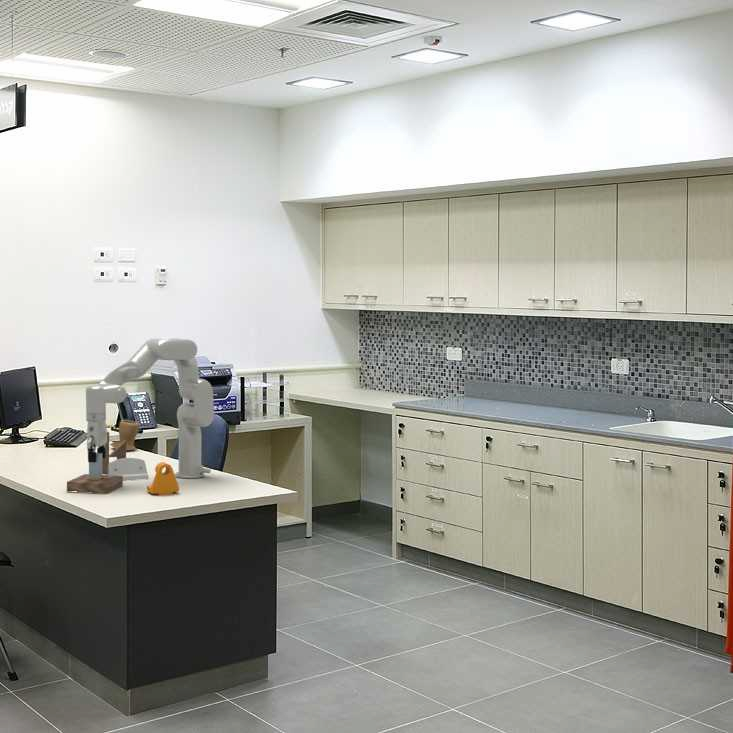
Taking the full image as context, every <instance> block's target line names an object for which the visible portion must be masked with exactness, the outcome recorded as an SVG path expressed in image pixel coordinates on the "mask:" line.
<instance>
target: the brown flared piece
mask: <svg viewBox="0 0 733 733" xmlns="http://www.w3.org/2000/svg"><path fill="white" fill-rule="evenodd" d="M139 429H140V423H139V422H137V421H136V420H135V421H134V420H129V419H122V420H120V421H119V426H118V435H119V441H114V442H111V443H109V446H111V447H113V448H114V449H116V448H117V447H118V446H119V445H120V444H121V443H122V442H123V441H124V440H126V452H127V451H128V452H129V451H130V452H131V451H134V450H136V449H137V448H136V446H135V439H136V438H137V435H138V433H139V431H140V430H139Z"/></svg>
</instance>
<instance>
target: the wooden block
mask: <svg viewBox="0 0 733 733" xmlns="http://www.w3.org/2000/svg"><path fill="white" fill-rule="evenodd" d="M105 445H106V447H105V458H102V475H108V464H109V463H110V458H116V460H117V459H122V458H127V451H126V440H124V441H123V442H122V443H121V444H120V445H119V446H118V447H117V448H114V450H112V452H111V453H110V432H109V431H107V443H106V444H105Z"/></svg>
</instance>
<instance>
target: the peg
mask: <svg viewBox="0 0 733 733" xmlns="http://www.w3.org/2000/svg"><path fill="white" fill-rule="evenodd" d="M88 474H89V480H101V479H102V478H103V477H102V475H103V474H102V453H97V452H96V462H88Z"/></svg>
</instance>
